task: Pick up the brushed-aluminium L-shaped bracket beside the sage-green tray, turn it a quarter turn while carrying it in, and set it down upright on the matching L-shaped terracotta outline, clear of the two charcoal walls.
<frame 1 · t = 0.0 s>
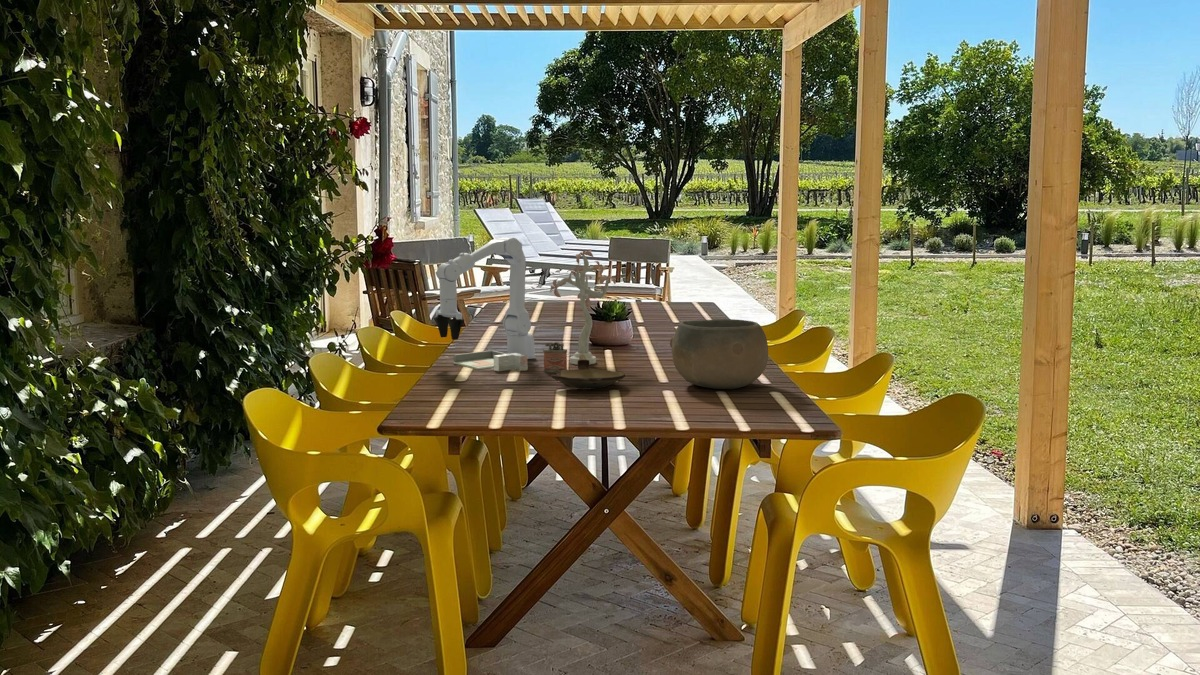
hand: (449, 338, 341), 10 cm above the table, tool pointing down, fingers open, 7 cm apart
arena: (485, 363, 349), on the table
white tree stand: (583, 362, 353), on the table
clay pot: (719, 387, 307), on the table
lighter: (555, 372, 334), on the table
oil lamp: (590, 387, 308), on the table
bracket: (507, 369, 339), on the table
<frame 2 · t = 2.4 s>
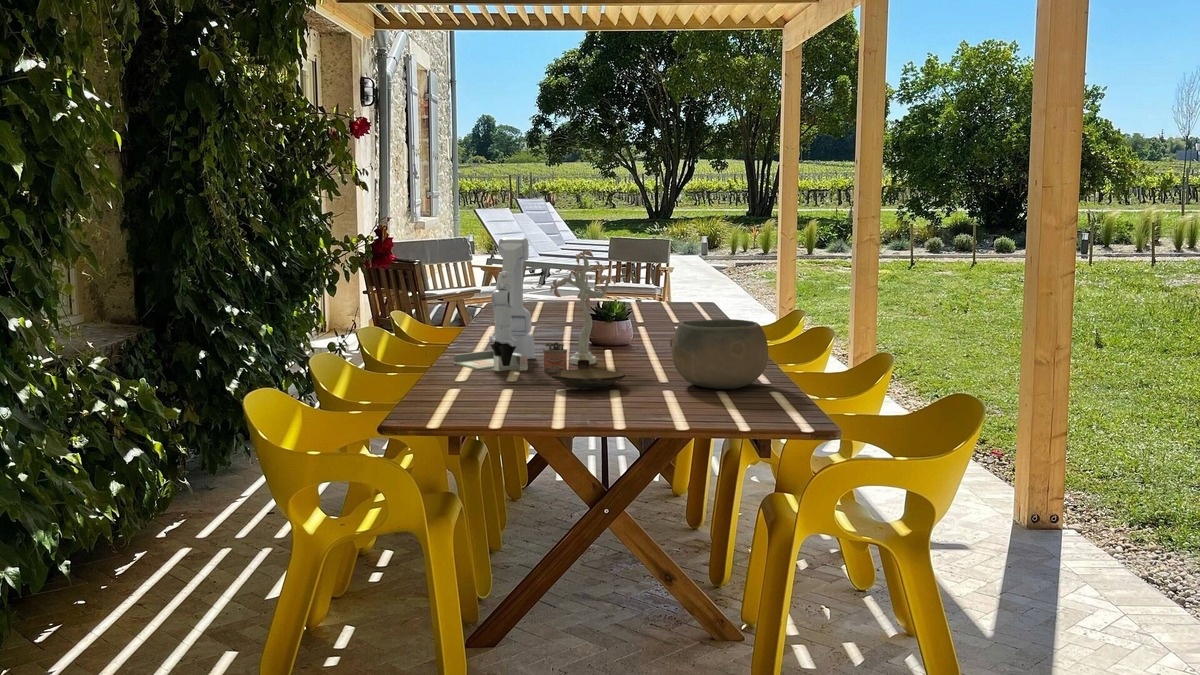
hand: (503, 365, 337), 2 cm above the table, tool pointing down, fingers closed on bracket, 3 cm apart
bracket: (507, 369, 339), on the table, touching gripper
everything else where it was.
when the fingers open (3 cm above the table, at t = 6.5 s): bracket stays where it is, resting on arena.
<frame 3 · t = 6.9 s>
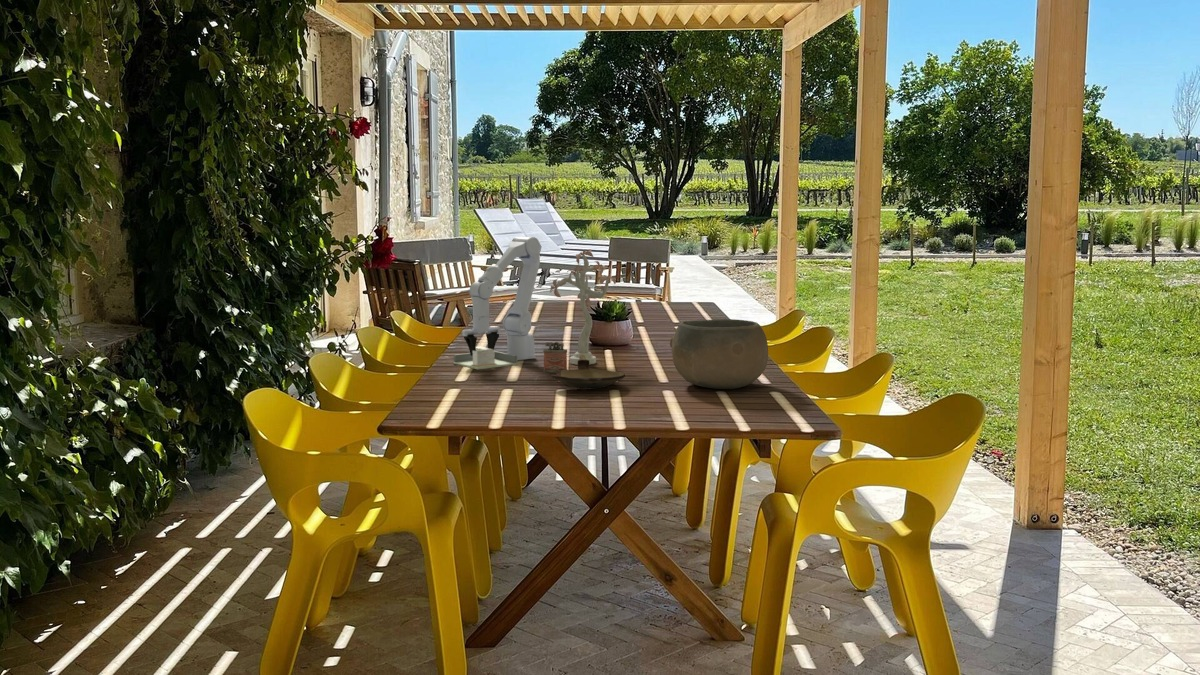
hand: (481, 354, 349), 3 cm above the table, tool pointing down, fingers open, 7 cm apart
bracket: (484, 362, 348), point 1 cm above the table, touching arena
everything else where it was.
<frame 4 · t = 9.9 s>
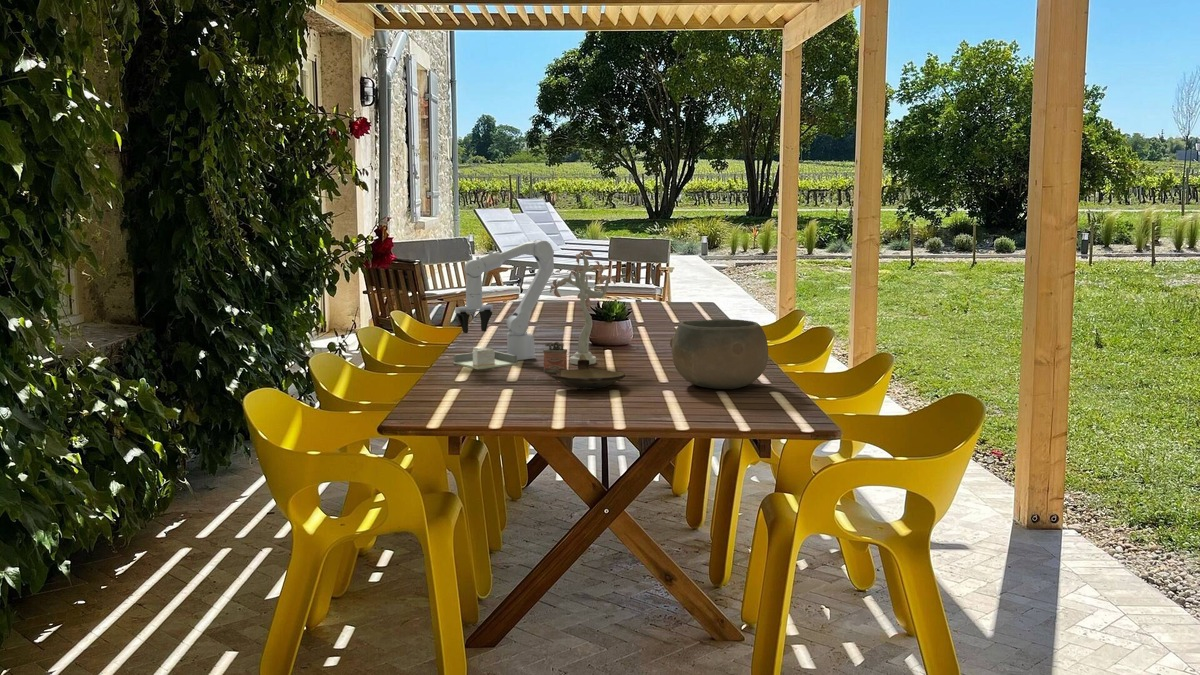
hand: (474, 332, 355), 10 cm above the table, tool pointing down, fingers open, 7 cm apart
nothing on the table moved.
at the end: bracket 0.7 cm from the target spot on the arena, point 0.7 cm above the arena's base; bracket tilted 0°; the gripper is holding nothing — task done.
